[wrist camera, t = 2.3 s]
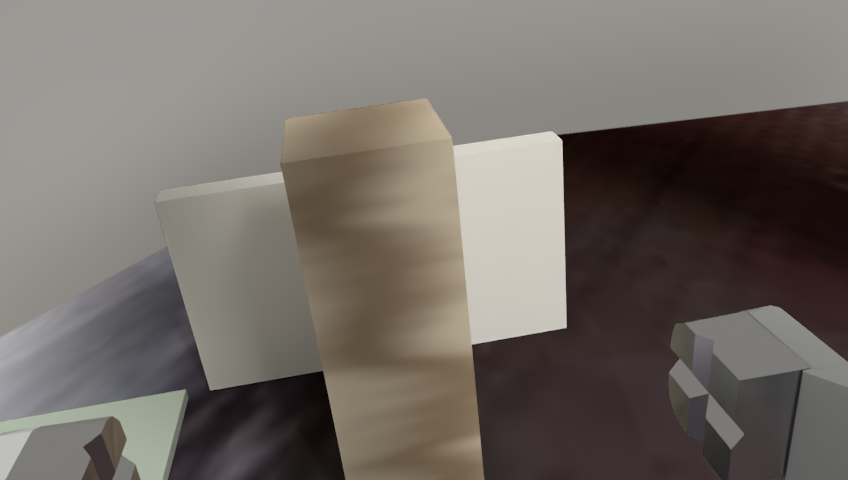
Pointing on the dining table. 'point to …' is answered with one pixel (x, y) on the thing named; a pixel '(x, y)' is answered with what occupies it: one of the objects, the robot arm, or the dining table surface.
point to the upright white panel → (284, 281)
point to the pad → (130, 428)
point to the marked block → (387, 287)
